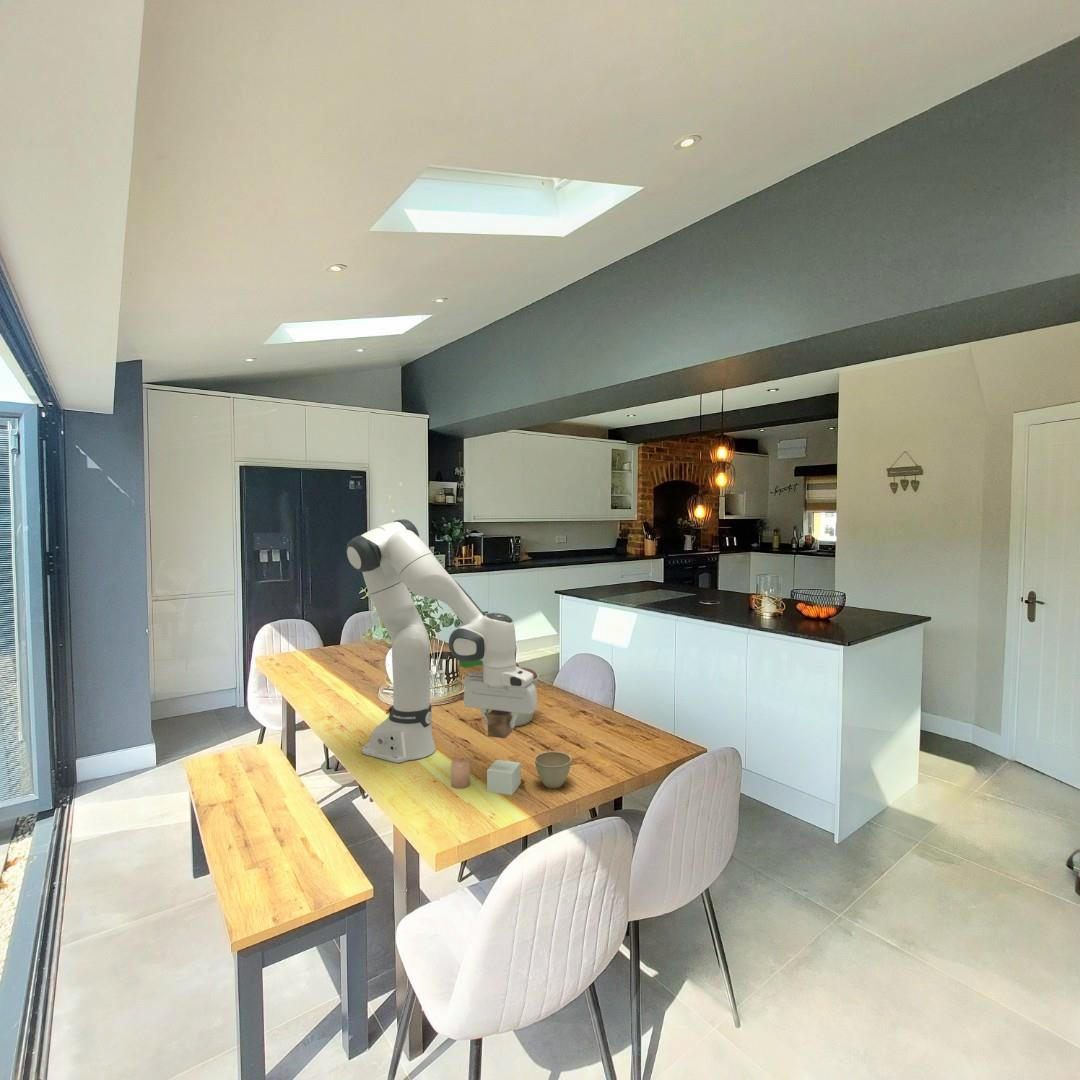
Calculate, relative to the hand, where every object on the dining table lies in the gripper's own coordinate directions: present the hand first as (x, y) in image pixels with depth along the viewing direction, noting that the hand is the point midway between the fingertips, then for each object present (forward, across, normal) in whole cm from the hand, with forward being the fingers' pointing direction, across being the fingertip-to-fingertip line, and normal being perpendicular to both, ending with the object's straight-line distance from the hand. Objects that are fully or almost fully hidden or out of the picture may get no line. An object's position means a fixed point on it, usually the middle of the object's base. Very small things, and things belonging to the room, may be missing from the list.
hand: (500, 725), depth 160 cm
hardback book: (+18, -62, +118) cm, 134 cm away
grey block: (+18, 0, +1) cm, 18 cm away
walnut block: (+2, 0, 0) cm, 2 cm away
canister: (+18, -15, +49) cm, 54 cm away
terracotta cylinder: (+17, -12, -1) cm, 21 cm away
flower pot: (+18, +12, +7) cm, 23 cm away
